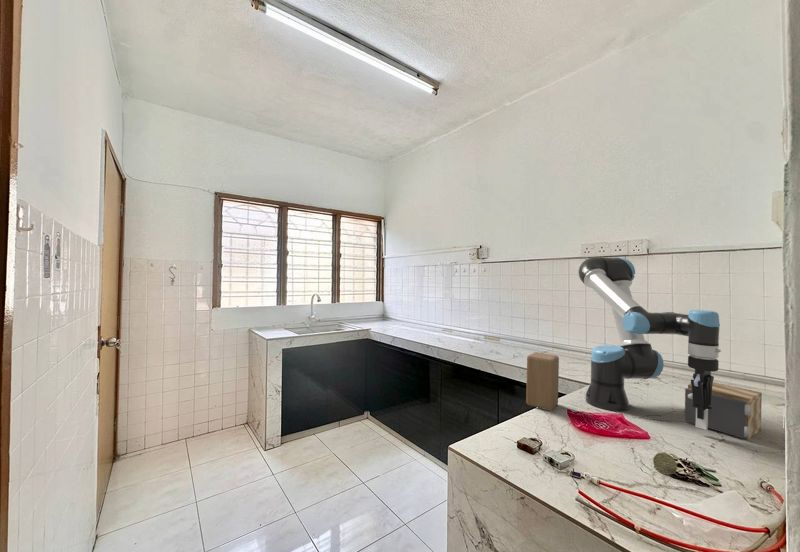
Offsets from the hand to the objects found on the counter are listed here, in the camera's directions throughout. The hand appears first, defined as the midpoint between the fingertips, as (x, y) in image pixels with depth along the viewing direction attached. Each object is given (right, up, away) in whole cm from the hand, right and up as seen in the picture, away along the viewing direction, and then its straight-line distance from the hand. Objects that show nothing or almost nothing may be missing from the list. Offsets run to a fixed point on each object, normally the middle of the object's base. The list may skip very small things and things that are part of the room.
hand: (701, 427), depth 110 cm
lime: (-30, -2, -22) cm, 37 cm away
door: (+7, -2, +3) cm, 8 cm away
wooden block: (-43, -2, +24) cm, 49 cm away
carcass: (+15, -3, +8) cm, 17 cm away
